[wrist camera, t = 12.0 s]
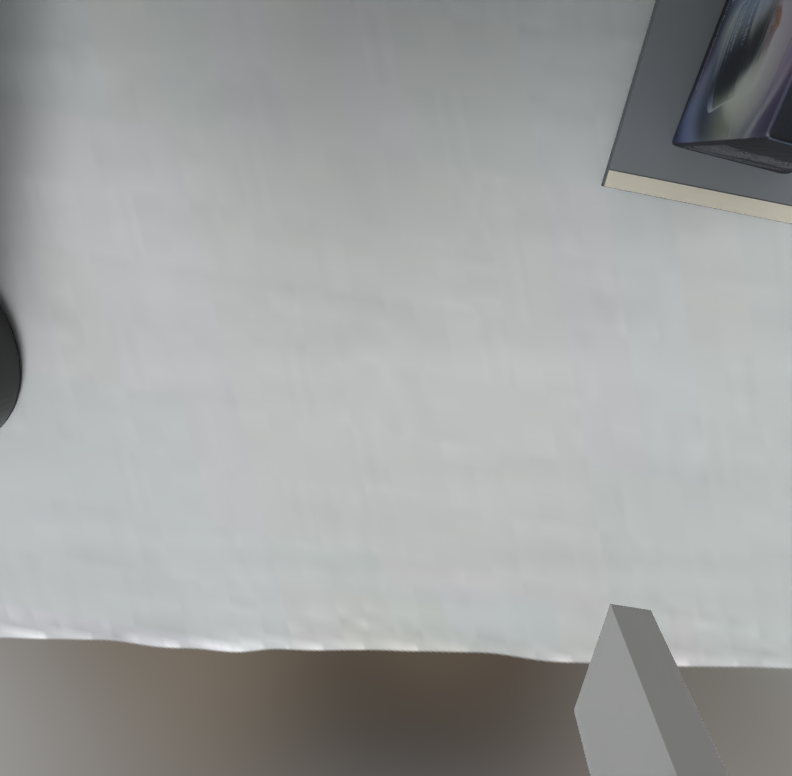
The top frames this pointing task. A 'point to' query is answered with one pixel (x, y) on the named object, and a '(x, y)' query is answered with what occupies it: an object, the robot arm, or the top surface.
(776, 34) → the small box
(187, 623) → the top surface
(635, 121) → the mat
